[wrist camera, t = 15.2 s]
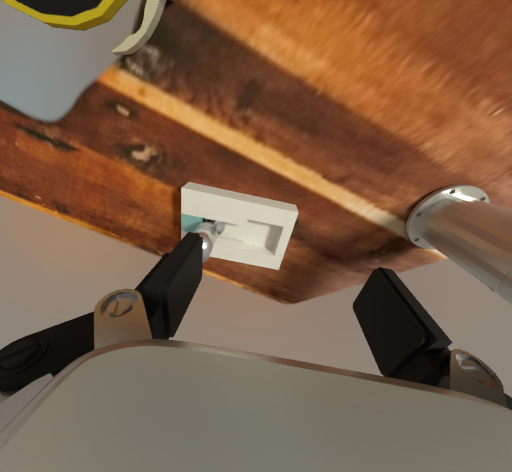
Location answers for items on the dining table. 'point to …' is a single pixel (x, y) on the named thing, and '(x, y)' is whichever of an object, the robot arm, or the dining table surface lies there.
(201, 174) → the dining table surface
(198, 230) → the steel peg
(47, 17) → the wall ornament
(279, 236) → the keyhole plate
